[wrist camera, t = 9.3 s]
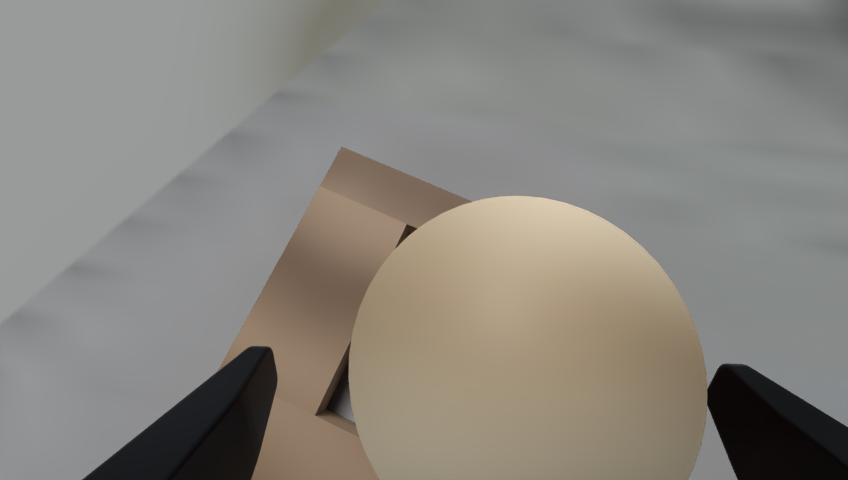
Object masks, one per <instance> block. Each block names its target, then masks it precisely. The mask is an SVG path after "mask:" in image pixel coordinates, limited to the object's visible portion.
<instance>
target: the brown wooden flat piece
mask: <svg viewBox="0 0 848 480" xmlns="http://www.w3.org/2000/svg"><path fill="white" fill-rule="evenodd" d="M471 202H472V201H469V200H467V199H465V198H462V197H460V196H457V195H455V194H453V193H450V192H448V191H446V190H443V189H441V188H438V187H436V186H434V185H431V184H429V183H427V182H424V181H422V180H419V179H417V178H415V177H412V176H410V175H408V174H405V173H403V172H400V171H398V170H396V169H393V168H391V167H389V166H386V165H384V164H381V163H379V162H377V161H374V160H372V159H370V158H367V157H365V156H362V155H360V154H358V153H355V152H353V151H351V150H348V149H346V148H343V147H341V149H340V151H339V153H338V154H337V156H336V158H335V160H334V162H333V163H332V165H331V167H330V169H329V171H328V172H327V174H326V176H325V178H324V180H323V182H322V183H321V185H320V187H319V189H318V191H317V192H316V194H315V196H314V198H313V200H312V201H311V203H310V205H309V207H308V209H307V210H306V212H305V214H304V216H303V218H302V220H301V221H300V223H299V225H298V227H297V229H296V230H295V232H294V234H293V236H292V238H291V239H290V241H289V243H288V245H287V247H286V249H285V250H284V252H283V254H282V256H281V258H280V259H279V261H278V263H277V265H276V267H275V268H274V270H273V272H272V274H271V276H270V277H269V279H268V281H267V283H266V285H265V287H264V288H263V290H262V292H261V294H260V296H259V297H258V299H257V301H256V303H255V305H254V306H253V308H252V310H251V312H250V314H249V316H248V317H247V319H246V321H245V323H244V325H243V326H242V328H241V330H240V332H239V334H238V335H237V337H236V339H235V341H234V343H233V345H232V346H231V348H230V350H229V352H228V354H227V355H226V357H225V359H224V361H223V363H222V364H221V366H220V368H219V370H220V369H221V368H223V367H224V366H225V365H226V364H228V363H229V362H230V361H232V360H233V359H234V358H235V357H237V356H238V355H239V354H240V353H242V352H243V351H244V350H245V349H247V348H248V347H250V346H268V347H270V348H271V349H272V350H273V354H274V359H275V365H276V370H277V376H278V382H277V388H276V392H275V396H274V400H273V404H272V408H271V412H270V415H269V419H268V423H267V427H266V431H265V435H264V439H263V443H262V447H261V450H260V454H259V457H258V461H257V464H256V467H255V470H254V473H253V476H252V478H251V480H379V478H378V476H377V474H376V473H375V471H374V469H373V467H372V465H371V463H370V461H369V459H368V457H367V455H366V453H365V450H364V448H363V445H362V442H361V440H360V437H359V434H358V431H357V428H356V424H355V423H354V422H352V421H350V420H348V419H346V418H344V417H342V416H340V415H338V414H335V413H333V412H331V411H329V410H327V409H326V408H327V406H328V404H329V402H330V400H331V398H332V396H333V393H334V391H335V389H336V387H337V385H338V383H339V381H340V379H341V377H342V375H343V372H344V370H345V368H346V366H347V364H348V362H349V352H350V346H351V339H352V333H353V328H354V325H355V321H356V318H357V314H358V311H359V308H360V305H361V303H362V301H363V298H364V296H365V294H366V291H367V289H368V287H369V285H370V284H371V282H372V280H373V279H374V277H375V275H376V273H377V272H378V270H379V268H380V267H381V266H382V265H383V263H384V262H385V261H386V259H387V258H388V257H389V256H390V254H391V253H392V252H393V251H394V250H395V249H396V248H397V247H398V246H399V245H400V244H401V243H402V242H403V241H404V240H405V239H406V238H407V237H408V236H409V235H410V234H412V233H413V232H414V231H415V230H417V229H418V228H419V227H421V226H422V225H423V224H425V223H426V222H428V221H430V220H431V219H433V218H435V217H437V216H438V215H440V214H442V213H444V212H446V211H449V210H451V209H453V208H456V207H458V206H461V205H463V204H467V203H471ZM219 370H218V371H219Z"/></svg>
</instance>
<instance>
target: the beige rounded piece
mask: <svg viewBox="0 0 848 480" xmlns="http://www.w3.org/2000/svg"><path fill="white" fill-rule="evenodd" d="M349 389H350V399H351V407H352V411H353V415H354V420H355V424H356V428H357V431H358V434H359V437H360V440H361V442H362V445H363V448H364V450H365V453H366V455H367V457H368V459H369V461H370V463H371V465H372V467H373V469H374V471H375V473H376V474H377V476H378V478H379V480H688V478H689V476H690V474H691V472H692V470H693V468H694V465H695V462H696V459H697V456H698V453H699V450H700V447H701V444H702V438H703V433H704V428H705V423H706V412H707V380H706V369H705V364H704V358H703V353H702V348H701V344H700V341H699V338H698V335H697V332H696V328H695V325H694V323H693V320H692V318H691V316H690V314H689V312H688V309H687V307H686V305H685V303H684V301H683V299H682V297H681V296H680V294H679V292H678V291H677V289H676V287H675V286H674V284H673V282H672V281H671V280H670V278H669V277H668V276H667V274H666V273H665V272H664V270H663V269H662V268H661V267H660V265H659V264H658V263H657V262H656V261H655V260H654V259H653V258H652V257H651V255H650V254H649V253H648V252H647V251H646V250H645V249H644V248H643V247H642V246H641V245H639V244H638V243H637V242H636V241H635V240H633V239H632V238H631V237H630V236H629V235H627V234H626V233H625V232H623V231H622V230H620V229H619V228H617V227H616V226H614V225H613V224H611V223H610V222H608V221H607V220H605V219H603V218H601V217H599V216H597V215H595V214H593V213H591V212H589V211H587V210H584V209H581V208H578V207H576V206H573V205H570V204H567V203H564V202H559V201H555V200H551V199H546V198H538V197H529V196H502V197H495V198H488V199H482V200H478V201H474V202H471V203H467V204H463V205H461V206H458V207H456V208H453V209H451V210H449V211H446V212H444V213H442V214H440V215H438V216H437V217H435V218H433V219H431V220H430V221H428V222H426V223H425V224H423V225H422V226H421V227H419V228H418V229H417V230H415V231H414V232H413V233H412V234H410V235H409V236H408V237H407V238H406V239H405V240H404V241H403V242H402V243H401V244H400V245H399V246H398V247H397V248H396V249H395V250H394V251H393V252H392V253H391V254H390V256H389V257H388V258H387V259H386V261H385V262H384V263H383V265H382V266H381V267H380V268H379V270H378V272H377V273H376V275H375V277H374V279H373V280H372V282H371V284H370V285H369V287H368V289H367V291H366V294H365V296H364V298H363V301H362V303H361V305H360V308H359V311H358V314H357V318H356V321H355V325H354V328H353V333H352V339H351V346H350V352H349Z"/></svg>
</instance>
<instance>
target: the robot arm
mask: <svg viewBox="0 0 848 480" xmlns="http://www.w3.org/2000/svg"><path fill="white" fill-rule="evenodd" d="M277 382H278V376H277V370H276V365H275V359H274V354H273V350H272V349H271V348H270V347H268V346H250V347H248V348H247V349H245V350H244V351H243V352H242V353H240V354H239V355H238V356H237V357H235V358H234V359H233V360H232V361H230V362H229V363H228V364H226V365H225V366H224V367H223V368H221V369H220V370H219V371H218V372H216V373H215V374H214V375H213V376H211V377H210V378H209V379H208V380H206V381H205V382H204V383H203V384H201V385H200V386H199V387H198V388H196V389H195V390H194V391H193V392H191V393H190V394H189V395H188V396H186V397H185V398H184V399H183V400H181V401H180V402H179V403H178V404H176V405H175V406H174V407H173V408H171V409H170V410H169V411H168V412H166V413H165V414H164V415H163V416H161V417H160V418H159V419H158V420H156V421H155V422H154V423H153V424H151V425H150V426H149V427H148V428H146V429H145V430H144V431H143V432H141V433H140V434H139V435H138V436H136V437H135V438H134V439H133V440H131V441H130V442H129V443H128V444H126V445H125V446H124V447H123V448H121V449H120V450H119V451H118V452H116V453H115V454H114V455H112V456H111V457H110V458H109V459H107V460H106V461H105V462H104V463H102V464H101V465H100V466H99V467H97V468H96V469H95V470H94V471H92V472H91V473H90V474H89V475H87V476H86V477H85V478H84V479H82V480H251V478H252V476H253V473H254V470H255V467H256V464H257V461H258V457H259V454H260V450H261V447H262V443H263V439H264V435H265V431H266V427H267V423H268V419H269V415H270V412H271V408H272V404H273V400H274V396H275V392H276V388H277ZM707 405H708V408H709V410H710V413H711V415H712V418H713V420H714V423H715V425H716V428H717V430H718V433H719V435H720V438H721V440H722V443H723V445H724V448H725V450H726V453H727V455H728V458H729V460H730V463H731V465H732V468H733V470H734V472H735V474H736V477H737V479H738V480H848V427H846V426H845V425H843V424H842V423H840V422H838V421H837V420H835V419H833V418H832V417H830V416H829V415H827V414H825V413H824V412H822V411H820V410H819V409H817V408H816V407H814V406H812V405H811V404H809V403H807V402H806V401H804V400H803V399H801V398H799V397H798V396H796V395H794V394H793V393H791V392H789V391H788V390H786V389H785V388H783V387H781V386H780V385H778V384H776V383H775V382H773V381H772V380H770V379H768V378H767V377H765V376H763V375H762V374H760V373H759V372H757V371H755V370H754V369H752V368H750V367H749V366H747V365H743V364H722V365H721V366H720V367H719V368H718V370H717V371H716V373H715V375H714V377H713V379H712V381H711V383H710V385H709V387H708V389H707Z"/></svg>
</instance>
